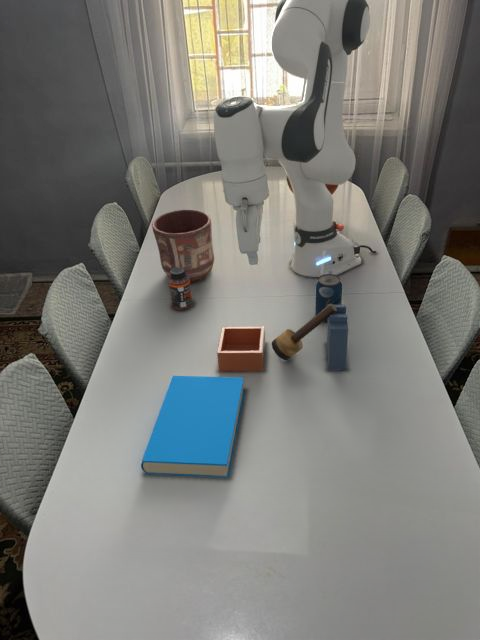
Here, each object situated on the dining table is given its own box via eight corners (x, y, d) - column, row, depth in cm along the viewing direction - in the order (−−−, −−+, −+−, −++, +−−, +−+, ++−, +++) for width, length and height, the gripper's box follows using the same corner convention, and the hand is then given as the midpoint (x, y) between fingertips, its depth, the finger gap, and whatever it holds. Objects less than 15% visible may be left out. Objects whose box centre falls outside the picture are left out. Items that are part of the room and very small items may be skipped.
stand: (328, 370, 121) (330, 323, 113) (326, 344, 129) (328, 299, 121) (345, 370, 121) (348, 323, 113) (342, 344, 129) (345, 299, 121)
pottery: (152, 286, 157) (140, 231, 146) (174, 259, 170) (165, 207, 159) (206, 291, 153) (198, 235, 142) (224, 263, 166) (219, 211, 155)
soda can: (330, 328, 135) (332, 289, 127) (309, 319, 138) (310, 280, 131) (345, 316, 139) (348, 278, 131) (325, 308, 142) (326, 270, 135)
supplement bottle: (189, 311, 144) (184, 276, 137) (169, 310, 145) (163, 275, 139) (196, 300, 149) (190, 265, 142) (176, 299, 150) (170, 264, 143)
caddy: (219, 371, 123) (217, 353, 119) (224, 344, 131) (222, 326, 128) (263, 371, 122) (262, 352, 119) (265, 344, 130) (264, 326, 127)
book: (243, 376, 115) (228, 463, 95) (245, 391, 117) (230, 478, 97) (169, 375, 116) (138, 459, 96) (172, 389, 119) (142, 474, 99)
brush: (271, 364, 124) (269, 312, 114) (272, 349, 128) (270, 298, 119) (335, 364, 123) (338, 311, 113) (333, 349, 127) (336, 297, 118)
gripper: (259, 208, 92) (268, 275, 100) (264, 170, 108) (271, 230, 116) (224, 212, 93) (236, 278, 101) (234, 173, 109) (244, 233, 117)
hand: (255, 252), depth 109 cm, fingers open, 8 cm apart
